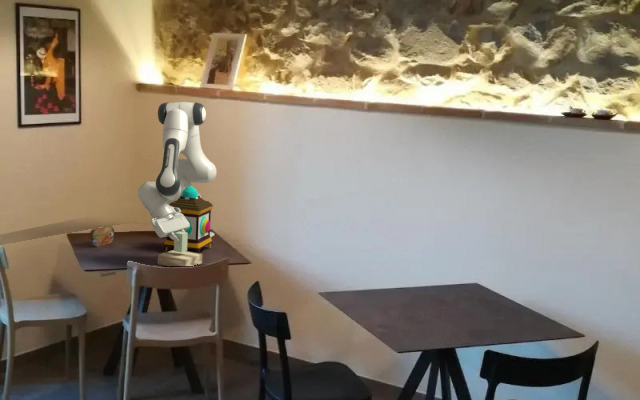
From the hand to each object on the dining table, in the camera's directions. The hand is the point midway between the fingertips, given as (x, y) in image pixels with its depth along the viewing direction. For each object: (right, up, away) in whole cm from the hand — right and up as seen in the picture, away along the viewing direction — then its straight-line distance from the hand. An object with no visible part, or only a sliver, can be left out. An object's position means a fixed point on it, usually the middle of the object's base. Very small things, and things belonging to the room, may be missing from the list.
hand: (182, 240), depth 331 cm
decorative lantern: (-2, -6, +27) cm, 28 cm away
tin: (-42, -3, +26) cm, 50 cm away
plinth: (-1, -10, +2) cm, 10 cm away
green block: (-1, -4, +1) cm, 5 cm away
